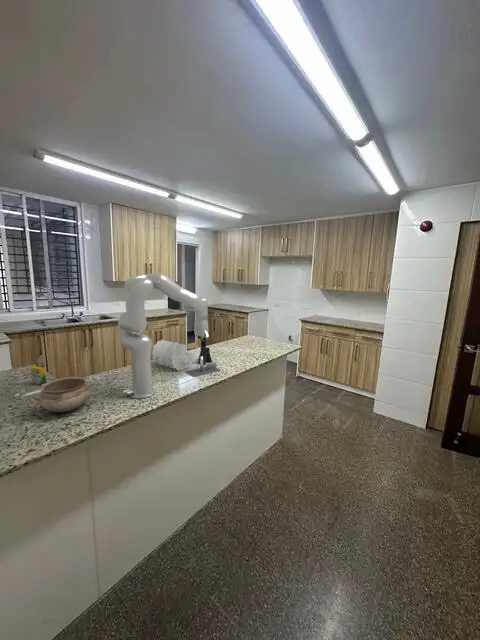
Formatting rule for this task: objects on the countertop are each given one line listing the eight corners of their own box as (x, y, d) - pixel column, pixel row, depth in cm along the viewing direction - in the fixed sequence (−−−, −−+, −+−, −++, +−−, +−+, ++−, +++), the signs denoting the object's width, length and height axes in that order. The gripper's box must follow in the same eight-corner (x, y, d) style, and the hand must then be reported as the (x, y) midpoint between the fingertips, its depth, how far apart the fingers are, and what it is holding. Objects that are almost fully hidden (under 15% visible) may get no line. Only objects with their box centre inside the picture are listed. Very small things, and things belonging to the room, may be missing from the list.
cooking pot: (89, 394, 139) (88, 371, 137) (103, 407, 126) (101, 382, 124) (29, 410, 121) (26, 385, 119) (37, 427, 108) (34, 399, 106)
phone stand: (203, 366, 186) (203, 349, 184) (197, 364, 190) (197, 347, 188) (212, 362, 193) (212, 346, 191) (206, 361, 197) (206, 345, 195)
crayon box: (32, 383, 150) (29, 363, 148) (37, 381, 153) (35, 362, 151) (41, 385, 148) (39, 365, 146) (47, 383, 151) (45, 363, 149)
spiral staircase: (180, 378, 173) (154, 369, 185) (197, 361, 185) (171, 353, 197) (172, 357, 163) (144, 348, 176) (190, 340, 175) (163, 333, 188)
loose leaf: (189, 349, 164) (189, 341, 163) (185, 348, 167) (185, 340, 166) (206, 346, 171) (206, 338, 170) (202, 344, 175) (202, 337, 174)
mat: (193, 378, 164) (193, 377, 164) (184, 372, 173) (183, 371, 173) (221, 370, 177) (221, 370, 177) (211, 365, 186) (211, 365, 186)
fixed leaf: (201, 372, 173) (201, 357, 171) (199, 370, 175) (199, 356, 173) (217, 368, 181) (217, 354, 179) (214, 367, 183) (214, 353, 181)
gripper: (189, 316, 172) (189, 344, 176) (203, 320, 160) (203, 350, 163) (199, 315, 177) (199, 342, 180) (214, 319, 165) (214, 348, 168)
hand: (201, 345), depth 172 cm, fingers closed on loose leaf, 4 cm apart
